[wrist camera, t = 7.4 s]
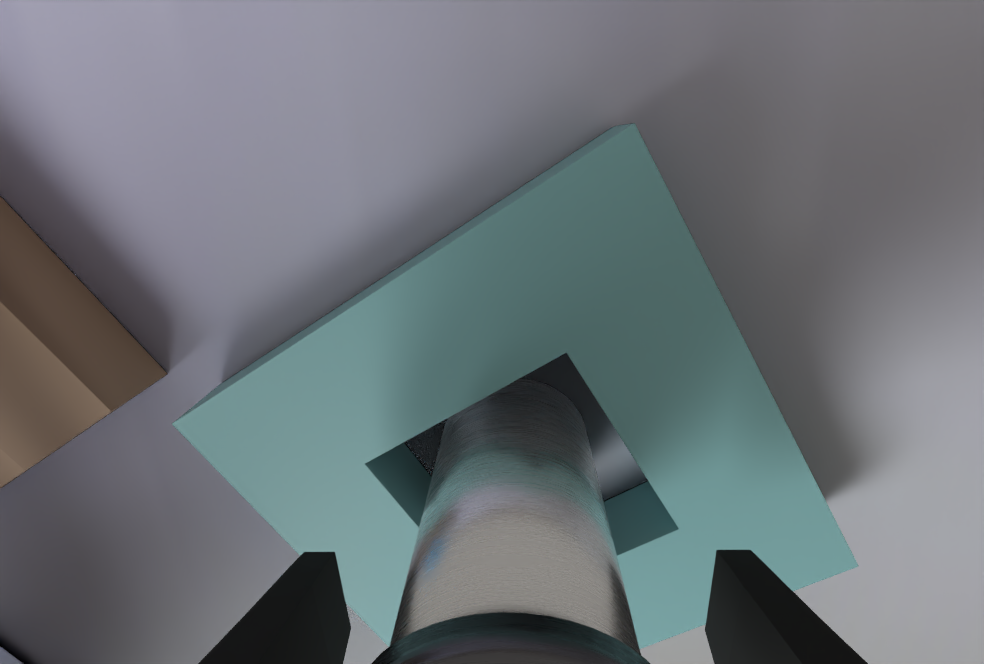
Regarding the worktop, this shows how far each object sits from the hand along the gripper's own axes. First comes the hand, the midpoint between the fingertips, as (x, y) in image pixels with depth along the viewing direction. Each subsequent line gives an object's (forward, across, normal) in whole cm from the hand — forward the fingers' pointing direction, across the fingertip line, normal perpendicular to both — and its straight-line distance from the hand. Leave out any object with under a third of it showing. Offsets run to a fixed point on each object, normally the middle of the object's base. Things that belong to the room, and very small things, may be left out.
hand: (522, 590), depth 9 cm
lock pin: (+5, 0, 0) cm, 5 cm away
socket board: (+5, 0, 0) cm, 5 cm away
